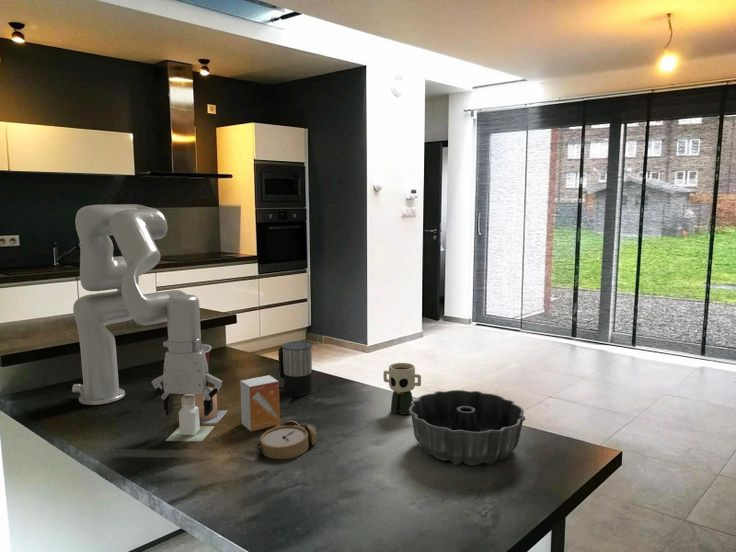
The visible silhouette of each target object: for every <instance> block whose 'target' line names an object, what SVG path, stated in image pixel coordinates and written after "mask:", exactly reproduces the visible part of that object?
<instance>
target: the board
mask: <svg viewBox="0 0 736 552" xmlns="http://www.w3.org/2000/svg"><path fill="white" fill-rule="evenodd" d="M217 413H218V416H217V417H216V418H214V419H212V420H207V421H200V424H218V423H219V422H220V421H221V419H222V418H223V417H224V416H225V415H226V413H228V410H218V409H217ZM214 428H215V426H213V425H212V426H210V425H208V426H207V425H206V426H205V425H200V430H199V431H198V432H197V433H196V435H194V436H191V435H180V427H179V426H178V427H177V428H176V429H175V430H174V431H173V432H172V434H171V435H169V437H168V438H166V439H165V442H203V441H204V440H205V439H206V437H207V436H208V435H209V434H210V433H211V432H212V430H213V429H214Z"/></svg>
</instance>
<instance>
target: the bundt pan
mask: <svg viewBox="0 0 736 552" xmlns="http://www.w3.org/2000/svg"><path fill="white" fill-rule="evenodd" d="M411 405H412V406H410V408H409V413H408V414H410V416H411V420H412V421H411V422H412V427H413V428H412V429H413V435H414V438H415V440H416V441H417V443H418V444H419V446H420V448H421V450H422V451H423V452H424V453H426V454H427V455H430V456H433V457H435V458H436V459H438V460H440V461H447V462H448V461H450V462H452V464H454V465H459V464H462V462H463V464H466V465H467V466H468V465H469V466H476V465H477V466H478V465H480V464H481V463H483V464H485V465H492V464H494V462H495V461H500V460H503V459H505V458H507V457H508V456H509V455H510V453H511V452H513V451H514V450H515V449H516V448H517V446H518V444H519V441H520V436H521V431H522V427H523V422H524V421H526V416H524V412H525V411H524V409H523V407H522V406H519V404H518V405H517V404H516V403H515V401H514V400H510V399H506V398H504V397H502V396H500V395H498V394H493V393H487V392H486V393H485V392H484V393H483V392H481V391H479V390H474V391H473V390H472V391H471V390H463V389H460V390H459V389H454V390H453V389H452V390H447V391H442V390H441V391H440V390H439V391H437V390H436V391H435V392H433V393H425V394H422V395H420V396H419V397H418V398H417V399H416V400H413V401H412V402H411Z"/></svg>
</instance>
